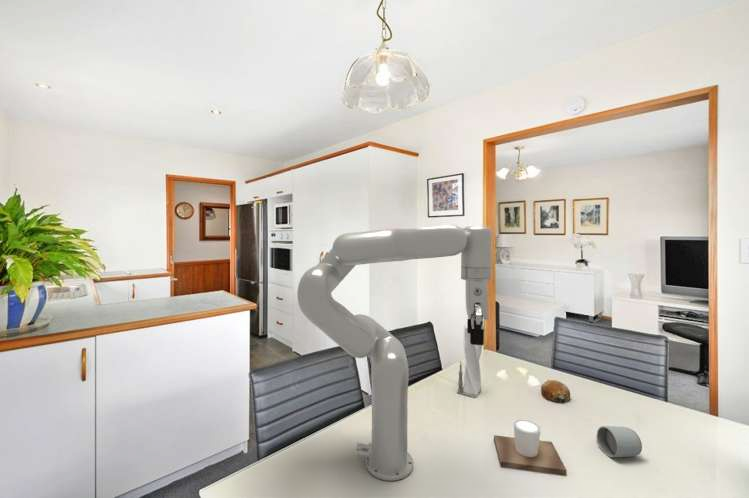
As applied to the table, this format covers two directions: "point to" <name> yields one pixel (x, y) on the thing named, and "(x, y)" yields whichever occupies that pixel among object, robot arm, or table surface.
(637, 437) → the ceramic mug
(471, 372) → the skyscraper
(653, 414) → the table surface
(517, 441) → the white short cylinder
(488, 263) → the robot arm
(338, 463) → the table surface
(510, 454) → the walnut board
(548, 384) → the bread roll
